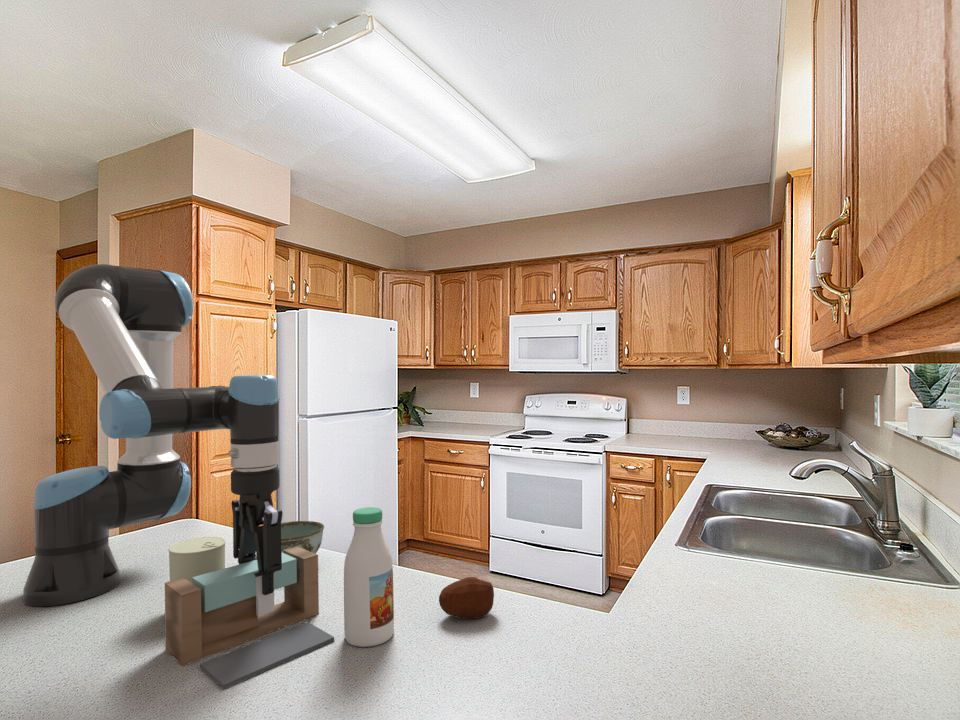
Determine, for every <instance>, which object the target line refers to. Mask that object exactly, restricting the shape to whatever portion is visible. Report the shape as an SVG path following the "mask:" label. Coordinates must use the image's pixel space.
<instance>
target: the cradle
mask: <svg viewBox="0 0 960 720" xmlns="http://www.w3.org/2000/svg"><path fill="white" fill-rule="evenodd" d="M284 554H287V555H289V556H291V557H293V558H296V559H297V583H294V584H290V585H287V586H284V587H283V588H284V589H283V593H284V595H283V597H284V598H283V601H282V602H280V603H277V604H274V611H272V612H269V613H266V614H263V615H261V616H257V615H256V596H254V597H251V598H248V599H245V600H242V601H239V602H235V603H232V604H229V605H226V606H223V607H220V608H217V609H214V610H211V611H208V612H204V611H202V610H201V589H200V588H198V587H197V586H195V585H194V584H192V583H191V582H189V581H188V580H186V579H185V578H181V579H177V580H174V581H170V580H169V581H167V582H164V625H165V628H164V635H165V637H164V638H165V641H164V642H165V645H164V646H165V649H164V650H165V651H166V652H167V653H168V654H169V655H170V656H171V657H172V658H173V659H174V660H175V661H176V662H177V663H179V664H180V666H181V667H184V666H186V665H188V664H192V663H194V662H197V661H199V660H202V659H205V658H207V657H210V656H212V655H215V654H218V653H220V652H222V651H225V650H227V649H230V648H233V647H236V646H238V645H240V644H243V643H246V642H249V641H251V640H253V639H256V638H260V637H261V636H265V635H266V634H270V633H272V632H274V631H277V630H279V629H283V628H285V627H288V626H290V625H293V624H295V623H297V622H300V621H303V620H306V619H308V618H311V617H314V616H316V615H319V613H320V611H319V610H320V609H319V608H320V606H319V605H320V604H319V601H320V600H319V596H320V595H319V554H318V553H316V554H315V553H312V552H310V551H308V550H305V549H303V548H300V547H298V546H297V547H294V548H290V549H286V550H284Z"/></svg>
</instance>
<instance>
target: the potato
mask: <svg viewBox="0 0 960 720" xmlns="http://www.w3.org/2000/svg"><path fill="white" fill-rule="evenodd" d="M494 597H495V591H494V586H493V584H492V582H489V581H486V580H483V579H479V578H478V577H475V576H467V577H464V578H462V579H459V580H456V581H453V582H452V583H450V584H448V585H446V586H445V587H444V588H442V590H440V593H439V596H438V601H439V602H438V603H439V606H440V608H441V609H442V611H443V612H444V613H445V614H446V615H447V616H451V617H454V618H455V617H456V618H459V619H465V620H476V619H480V618H482V617H486V616H487V615H489V613H490V612H491V610H492V609H493V607H494V599H495V598H494Z"/></svg>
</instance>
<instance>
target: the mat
mask: <svg viewBox="0 0 960 720" xmlns="http://www.w3.org/2000/svg"><path fill="white" fill-rule="evenodd" d="M333 642H335V636H333V635H331V634H330V633H328V632H326V630H325V631H324V630H323V629H321V628H320V627H318V626H316V625H314V624H313V623H311V622H309V621H306V622H303V623H301V624H298V625H295V626H292V627H291V628H290V627H289V628H288V629H285V630H282V631H280V632H277V633H276V634H273V635H269V636H266V637H264V638H262V639H260V640H257V641H254V642H251V643H250V644H246V645H244V646H242V647H239V648H236V649H234V650H231V651H229V652H227V653H224V654H222V655H219V656H216V657H214V658H211V659H209V660H206V661H203V662H201V663H199V669H200V670H202V672H204V673H205V674H206V676H208V677H209V678H210V679H212V681H213V682H215V684H217V685H218V686H219V687H220V688H221V689H222V690H225V689H227V688H230V687H232V686H234V685H237V684H238V683H240V682H243V681H245V680H249V679H250V678H253V677H255V676H257V675H260V674H261V673H264V672H267V671H268V670H270V669H273V668H275V667H276V668H277V667H278V666H279V665H280V666H281V665H282V664H284V663H287V662H289V661H291V660H294V659H297V658H298V657H301V656H303V655H305V654H307V653H310V652H313V651H314V650H318V648H319V649H320V648H321V647H323V646H326V645H328V644H330V643H333Z"/></svg>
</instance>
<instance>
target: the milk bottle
mask: <svg viewBox="0 0 960 720" xmlns="http://www.w3.org/2000/svg"><path fill="white" fill-rule="evenodd" d="M352 522H353V524H352V526H354V530H353V536H352V539H351V542H350V544H349V546H348V549H347V550H346V551H347V552H346V555H345V559H344V567H343V618H344V619H343V622H344V623H343V624H344V626H343V627H344V629H343V630H344V639H345V641H346V642H347V643H348V644H349V645H351V646H354V647H360V648H369V647H375V646H379V645H381V644H384V643H386V642H387V641H389V640H390V639H391V638H392V636H393V634H394V631H395V630H394V629H395V610H394V609H395V607H394V606H395V605H394V603H395V602H394V601H395V599H394V597H395V596H394V570H393V569H394V567H393V558H392V554H391V550H390V547H389V546H388V544H387V542H386V540H385V539H386V538H385V537H384V534H383V532H382V525H383V510H382V509H381V508H379V507H374V506H373V507H372V506H369V507H360V508H357V509H355V510H353V512H352Z"/></svg>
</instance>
